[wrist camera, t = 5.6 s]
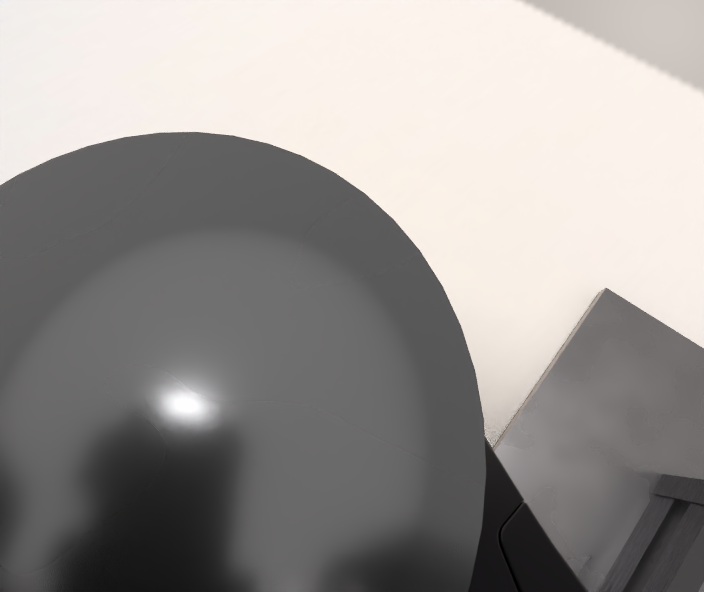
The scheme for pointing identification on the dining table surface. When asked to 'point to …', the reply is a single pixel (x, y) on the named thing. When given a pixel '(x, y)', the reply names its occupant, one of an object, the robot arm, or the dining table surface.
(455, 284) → the dining table surface
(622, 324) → the collar stand
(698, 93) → the dining table surface
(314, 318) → the grey metal cylinder
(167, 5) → the dining table surface
